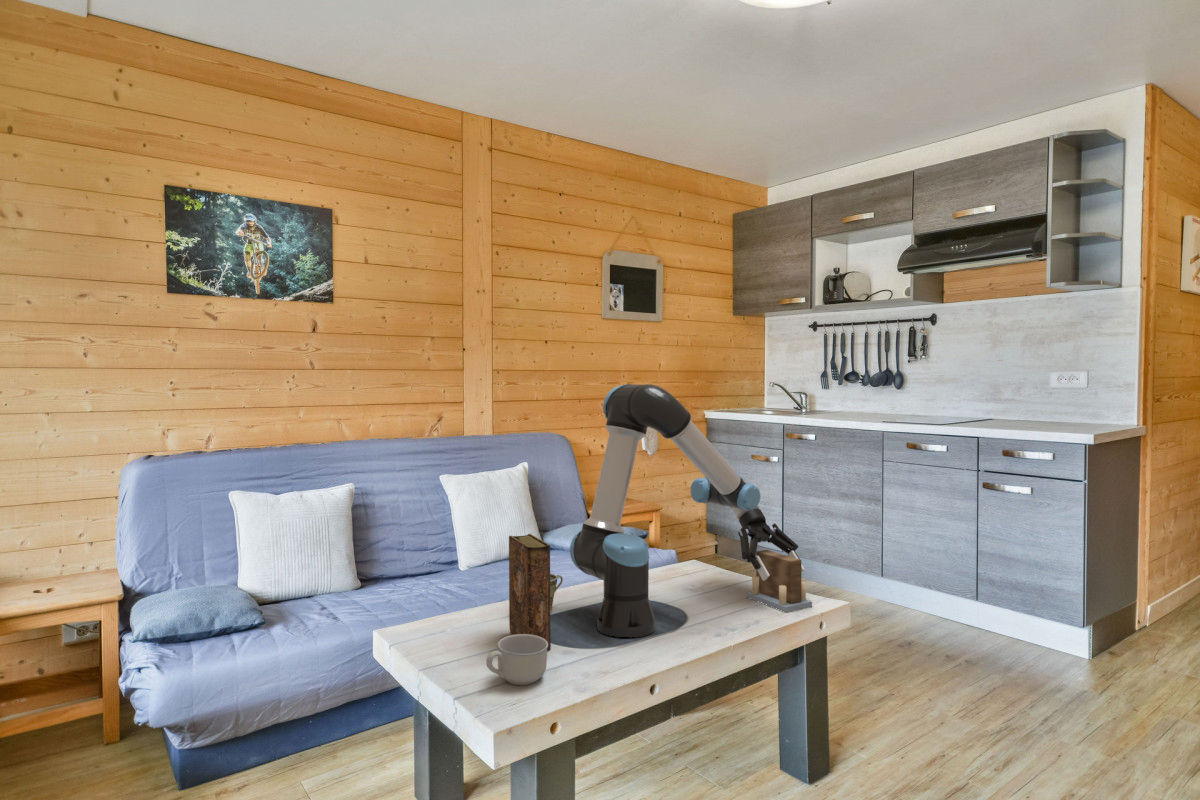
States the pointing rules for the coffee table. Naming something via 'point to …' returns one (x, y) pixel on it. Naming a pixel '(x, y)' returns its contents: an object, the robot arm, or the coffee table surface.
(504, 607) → the coffee table surface
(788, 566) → the board
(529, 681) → the teacup
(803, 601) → the cradle
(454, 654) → the coffee table surface
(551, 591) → the ceramic cup
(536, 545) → the book
